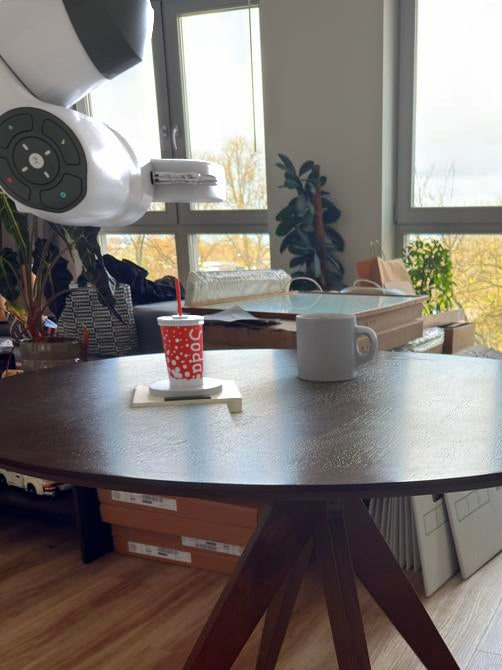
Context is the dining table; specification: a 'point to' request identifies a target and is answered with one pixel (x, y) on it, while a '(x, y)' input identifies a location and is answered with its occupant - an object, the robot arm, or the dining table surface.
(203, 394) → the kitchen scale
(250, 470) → the dining table surface
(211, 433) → the dining table surface
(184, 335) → the beverage cup
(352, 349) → the coffee mug
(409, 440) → the dining table surface
